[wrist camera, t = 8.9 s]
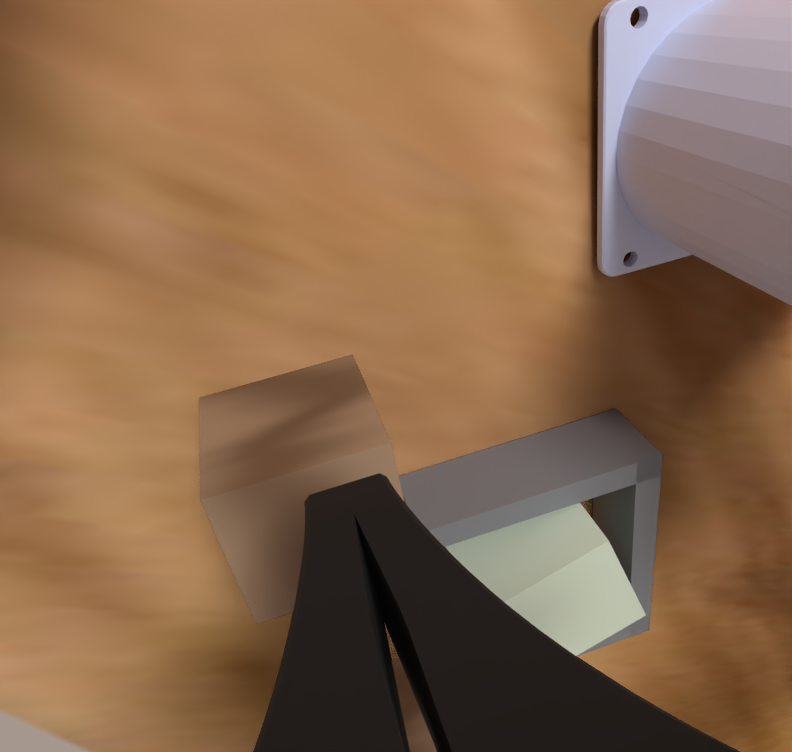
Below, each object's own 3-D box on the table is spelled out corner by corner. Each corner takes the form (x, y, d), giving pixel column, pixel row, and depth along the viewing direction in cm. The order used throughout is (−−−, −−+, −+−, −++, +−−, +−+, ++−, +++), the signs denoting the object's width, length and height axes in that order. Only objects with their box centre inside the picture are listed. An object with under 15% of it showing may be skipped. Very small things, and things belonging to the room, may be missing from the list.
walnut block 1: (351, 353, 21) (391, 442, 17) (379, 468, 24) (418, 570, 19) (199, 396, 20) (200, 500, 16) (245, 510, 23) (256, 624, 19)
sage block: (540, 450, 25) (608, 540, 21) (579, 523, 28) (645, 615, 24) (432, 516, 25) (477, 617, 21) (481, 581, 28) (529, 682, 24)
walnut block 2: (421, 648, 29) (458, 756, 25) (436, 708, 32) (472, 814, 28) (316, 685, 29) (336, 802, 25) (340, 743, 32) (361, 857, 27)
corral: (616, 408, 25) (662, 454, 22) (611, 577, 30) (648, 629, 28) (395, 477, 24) (418, 533, 21) (431, 640, 29) (453, 701, 27)
